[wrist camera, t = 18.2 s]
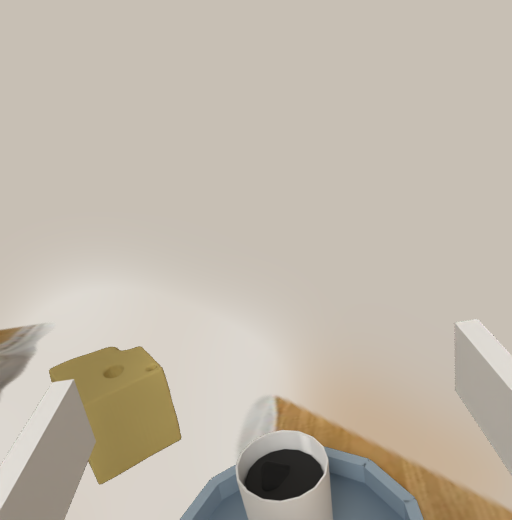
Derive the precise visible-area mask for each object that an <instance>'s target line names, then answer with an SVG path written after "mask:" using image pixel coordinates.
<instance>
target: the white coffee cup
mask: <svg viewBox="0 0 512 520" xmlns="http://www.w3.org/2000/svg"><path fill="white" fill-rule="evenodd" d="M235 468H236V477H237V483H238V486H239V489H240V493H241V496H242V500H243V503H244V507H245V510H246V513H247V517H248V520H333V513H332V500H331V487H330V474H329V461H328V457H327V455H326V452H325V449H324V447H323V446H322V445H321V444H320V443H319V442H318V441H317V440H316V439H315V438H314V437H312V436H310V435H307V434H305V433H302V432H300V431H289V430H280V431H276V432H271V433H266V434H264V435H262V436H260V437H259V438H257V439H255V440H253V441H251V442H250V443H249V444H248V445H247V446H246V448H245V449H244V450H243V451H242V452H241V453H240V455H239V458H238V461H237V463H236V466H235Z"/></svg>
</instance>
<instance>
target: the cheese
mask: <svg viewBox="0 0 512 520" xmlns="http://www.w3.org/2000/svg"><path fill="white" fill-rule="evenodd" d="M49 373H50V377H51V381H52V382H57V381H64V380H71V379H74V381H75V384H76V387H77V390H78V392H79V395H80V398H81V401H82V403H83V406H84V409H85V412H86V415H87V417H88V420H89V423H90V426H91V429H92V431H93V434H94V437H95V440H96V443H95V445H94V448H93V450H92V452H91V455H90V457H89V460H88V462H89V464H90V466H91V468H92V470H93V472H94V474H95V477H96V479H97V481H98V483H99V484H103V483H105V482H106V481H108V480H110V479H112V478H114V477H116V476H118V475H119V474H121V473H122V472H124V471H126V470H128V469H129V468H131V467H133V466H135V465H136V464H138V463H140V462H141V461H143V460H145V459H146V458H148V457H150V456H151V455H153V454H155V453H157V452H159V451H161V450H162V449H164V448H166V447H168V446H170V445H172V444H173V443H175V442H177V441H179V440H180V439H181V434H180V429H179V424H178V420H177V416H176V413H175V409H174V406H173V403H172V399H171V395H170V390H169V387H168V384H167V381H166V377H165V374H164V371H163V368H162V367H160V365H159V364H158V363H157V362H156V361H155V360H154V359H153V358H152V357H151V356H150V355H149V354H148V353H147V352H146V351H145V350H144V349H143V348H142V347H135V348H132V349H129V350H124V351H120V350H119V349H117V348H116V347H108V348H104V349H101V350H98V351H96V352H93V353H89V354H87V355H83V356H80V357H77V358H74V359H71V360H69V361H66V362H64V363H62V364H60V365H58V366H55V367H53V368H51V369H50V370H49Z"/></svg>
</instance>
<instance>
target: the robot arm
mask: <svg viewBox="0 0 512 520" xmlns="http://www.w3.org/2000/svg"><path fill="white" fill-rule="evenodd" d="M455 390H456V392H457V394H458V395H459V396H460V398H461V400H462V401H463V403H464V404H465V406H466V407H467V409H468V410H469V412H470V413H471V415H472V416H473V418H474V419H475V421H476V422H477V423H478V425H479V427H480V428H481V430H482V431H483V433H484V434H485V436H486V437H487V439H488V440H489V442H490V443H491V445H492V446H493V448H494V449H495V451H496V452H497V454H498V455H499V457H500V458H501V460H502V462H503V463H504V465H505V466H506V468H507V469H508V471H509V472H510V473H511V475H512V355H511V354H510V353H509V352H508V351H507V350H506V349H505V348H504V347H503V346H502V344H501V343H500V342H499V341H497V339H496V338H495V337H494V336H493V335H492V334H491V333H490V332H489V331H488V330H487V329H486V328H485V327H484V325H482V323H481V322H480V321H479V320H478V319H475V320H468V321H461V322H455ZM95 443H96V440H95V437H94V434H93V431H92V429H91V426H90V423H89V420H88V417H87V415H86V412H85V409H84V406H83V403H82V401H81V398H80V395H79V392H78V390H77V387H76V384H75V381H74V379H71V380H64V381H57V382H52V384H51V385H50V387H49V388H48V390H47V392H46V393H45V395H44V396H43V398H42V399H41V401H40V403H39V404H38V406H37V407H36V409H35V411H34V412H33V414H32V416H31V417H30V419H29V421H28V422H27V423H26V425H25V427H24V428H23V430H22V431H21V433H20V435H19V437H18V438H17V439H16V441H15V443H14V444H13V446H12V447H11V449H10V451H9V452H8V454H7V456H6V457H5V459H4V460H3V462H2V464H1V465H0V520H64V519H65V516H66V514H67V512H68V509H69V507H70V504H71V502H72V499H73V497H74V494H75V492H76V489H77V487H78V484H79V482H80V479H81V477H82V475H83V472H84V470H85V467H86V465H87V462H88V460H89V457H90V455H91V452H92V450H93V448H94V445H95Z"/></svg>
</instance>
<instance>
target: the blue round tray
mask: <svg viewBox="0 0 512 520" xmlns="http://www.w3.org/2000/svg"><path fill="white" fill-rule="evenodd" d="M323 447H324V446H323ZM324 449H325V452H326V455H327V457H328V461H329V474H330V487H331V500H332V513H333V520H424V519H423V517H422V514H421V511H420V509H419V506H418V503H417V501H416V499H415V497H414V496H412V495H411V494H410V493H409V492H408V491H407V490H405V489H404V488H403V487H402V486H401V485H400V484H398V483H397V482H396V481H395V480H394V479H392V478H391V477H390V476H389V475H388V474H387V473H385V472H384V471H383V470H382V469H381V468H380V467H378V466H377V465H376V464H375V463H374V462H373V461H371V460H369V459H368V458H364V457H360V456H357V455H353V454H350V453H346V452H342V451H339V450H335V449H331V448H328V447H324ZM235 466H236V465H234V466H232V467H231V468H229V469H227V470H225V471H224V472H222V473H220V474H218V475H216V476H215V477H213V478H212V480H209V482H208V483H207V484H206V486H205V487H204V488H203V489H202V491H201V492H200V494H199V495H198V496H197V497H196V499H195V500H194V501H193V503H192V504H191V505H190V507H189V508H188V509H187V511H186V512H185V513H184V515H183V516H182V517H181V518H180V520H248V517H247V513H246V510H245V507H244V503H243V500H242V496H241V493H240V489H239V486H238V483H237V477H236V468H235Z"/></svg>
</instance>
